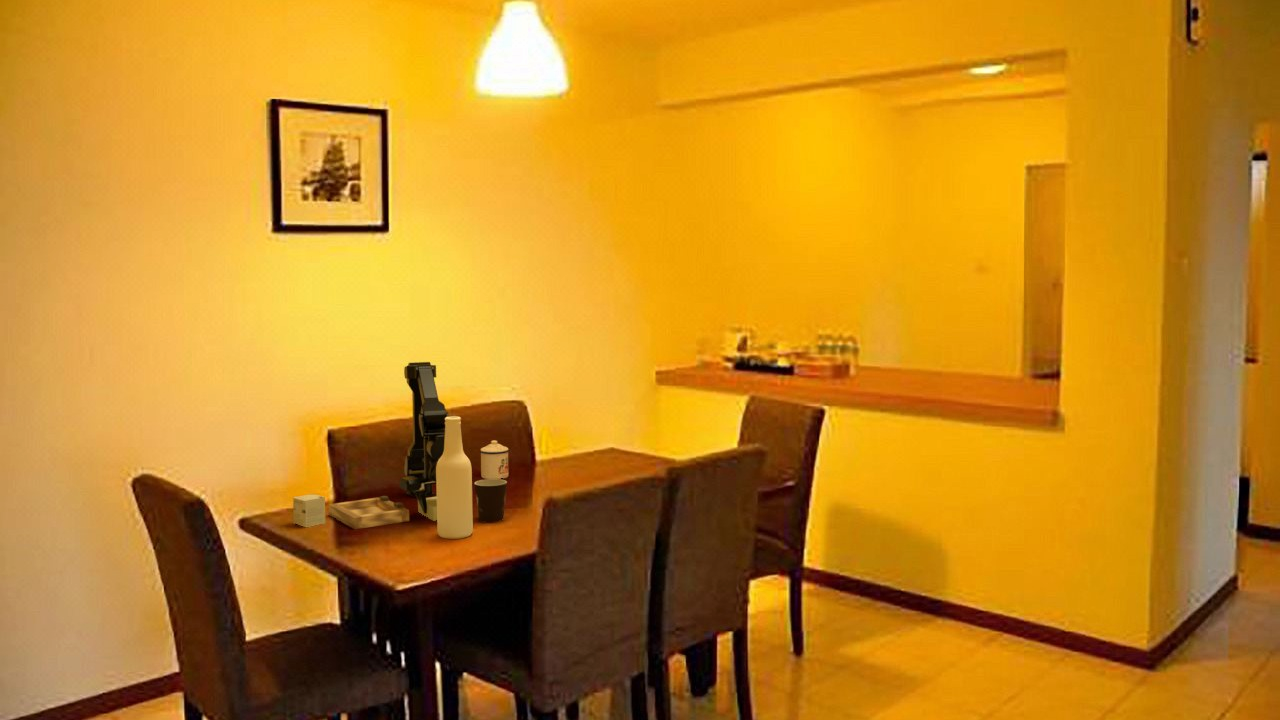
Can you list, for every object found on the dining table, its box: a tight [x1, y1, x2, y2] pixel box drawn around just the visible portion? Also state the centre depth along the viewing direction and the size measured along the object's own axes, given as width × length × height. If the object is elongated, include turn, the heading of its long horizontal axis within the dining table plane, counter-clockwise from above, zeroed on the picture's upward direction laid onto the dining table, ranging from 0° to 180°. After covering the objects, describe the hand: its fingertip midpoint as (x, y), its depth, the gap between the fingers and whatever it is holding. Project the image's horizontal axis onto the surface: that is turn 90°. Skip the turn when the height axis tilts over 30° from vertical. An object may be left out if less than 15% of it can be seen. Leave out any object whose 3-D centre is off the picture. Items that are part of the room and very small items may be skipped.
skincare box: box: [292, 493, 326, 528], centre depth 281 cm, size 6×6×7 cm
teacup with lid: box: [479, 439, 510, 480], centre depth 342 cm, size 12×9×12 cm
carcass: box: [328, 495, 410, 530], centre depth 287 cm, size 15×19×4 cm
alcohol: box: [435, 415, 474, 540], centre depth 268 cm, size 9×9×30 cm
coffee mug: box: [473, 479, 508, 523], centre depth 286 cm, size 12×9×10 cm
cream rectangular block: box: [417, 496, 437, 522], centre depth 290 cm, size 6×11×4 cm, turn 33°
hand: (436, 511), depth 290 cm, fingers closed on cream rectangular block, 6 cm apart
